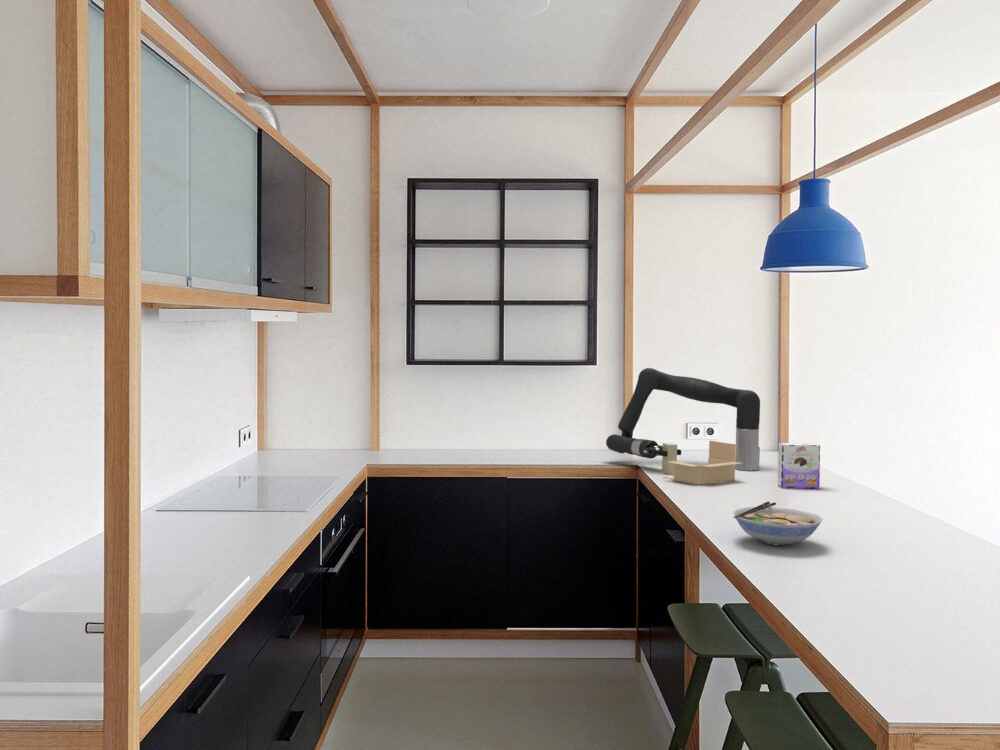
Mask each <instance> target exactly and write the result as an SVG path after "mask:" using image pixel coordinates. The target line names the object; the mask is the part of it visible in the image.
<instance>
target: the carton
mask: <svg viewBox="0 0 1000 750" xmlns="http://www.w3.org/2000/svg"><path fill="white" fill-rule="evenodd" d="M708 442H709V444H708V446H709V447H708V460H707V462H708V464H703V465H699V464H693V463H687V462H681V461H677V462H676V461H670V462H667V463H671V464H674V474H670V475H663V476H662V478H664V479H668V478H669V479H668V480H673V481H676V482H681V481H682V483H686V482H687V483H688V484H691V483H692V484H691V485H696V484H697V486H701V485H700V484H703V485H707V484H706V483H710V484H715V483H714V482H718V483H722V482H721V481H726V482H731V481H730V480H733V481H735V478H736V475H735V474H736V469H735V465H737V464H742V463H739V462H735V453H736V443H735V444H734V443H727V442H721V441H714V440H709V441H708Z"/></svg>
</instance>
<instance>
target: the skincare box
mask: <svg viewBox="0 0 1000 750" xmlns="http://www.w3.org/2000/svg"><path fill="white" fill-rule="evenodd" d="M662 446H663V450H664V451H667V456H666V457H665V456H661V459H662V461H661V472H662V474H665V475H674V464H671V463H667V462H670V461H676V462H678V459H677V458H678V455H677V449H678V444H677V443H674V442H662Z"/></svg>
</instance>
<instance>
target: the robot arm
mask: <svg viewBox="0 0 1000 750" xmlns="http://www.w3.org/2000/svg"><path fill="white" fill-rule="evenodd" d="M637 377H638V379H637V382H636V384H635V385H636V386H635V388H634V391H633V394H632V396H631V398H630V401H629V403H628V404H627V406H626V408H625V410H624V412H623V413H622V416H621V418H620V420H619V422H618V424H617V428H618V430H620V432H621V434H616V433H614V434H610V435H608V437H607V438H606V441H605V444H606V445H605V446H606V448H608V449H609V450H610V451H612V452H616V453H619V454H629V455H633V456H637V457H639V458H646V459H650V460H651V459H654V458H656V457H659V456H661V457H662V456H665V457H666V456H667V451H664V450H663V444H662V445H661V444H658V442H657V441H655V440H651V439H646V438H645V439H644V438H636V437H633V435H634V430H635V429H636V426H637V424H638V422H639V420H640V417H641V415H642V412H643V409H644V407H645V404H646V402H647V401H648V398H649V397H650V396H651V394H652V392H653V390H656V391H664V392H669V393H672V394H674V395H677V396H680V397H683V398H685V399H689V400H694V401H697V402H702V403H709V404H721V405H727V406H730V407H733V408H736V420H735V426H736V427H735V444H736V448H735V462H739V463H742V464H737V465H735V470H738V471H752V472H753V470H754V471H758V470H760V458H761V455H760V453H761V450H760V449H761V447H760V446H759V445H760V444H759V443H760V442H759V441H760V439H759V438H760V418H761V399H760V397H759V395H758V394H757V393H756V392H755V391H753V390H750V389H740V388H739V389H737V388H733V387H727V386H724V385H721V384H718V383H715V382H712V381H710V380H709V381H708V380H705V379H700V378H697V377H690V376H681V375H680V376H679V375H673V374H669V373H665V372H663V371H659V370H657V369H655V368H652V367H645V368H643V369H642V370H641V371H640V372H639V373H638V376H637ZM681 455H682V449H678V448H677V456H681Z"/></svg>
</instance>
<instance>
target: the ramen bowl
mask: <svg viewBox="0 0 1000 750" xmlns="http://www.w3.org/2000/svg"><path fill="white" fill-rule="evenodd" d="M776 506H777V502H774V501H773V502H770V501H765V502H764V503H762V504H759V505H757V506H749V507H748V506H747V507H741V508H737V509H734V511H733V512H732V514H733V517H732V518H733V519H735V520H736V521H737V523H738V524H739V526H740V528H741V529H742V530H743V531H744V533H746V534H747V535H749V536H751V537H752V538H755V539H757V540H760V541H761V542H762V541H763V542H762V543H764V542H765V543H764V544H766V543H769V544H768V545H770V544H777V545H776V546H779V545H784V546H789V545H788V544H790V545H791V544H793V543H796V542H797V543H798V542H801V541H804V540H806V539H808V538H809V537H811V535H813V534H814V532H815V531H816V530H817V529H818V528H819V526H820V525H821V523H822V521H823V518H822V517H821V516H820V515H818V514H815V513H812V512H809V511H804V510H799V509H794V508H786V507H776Z"/></svg>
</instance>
